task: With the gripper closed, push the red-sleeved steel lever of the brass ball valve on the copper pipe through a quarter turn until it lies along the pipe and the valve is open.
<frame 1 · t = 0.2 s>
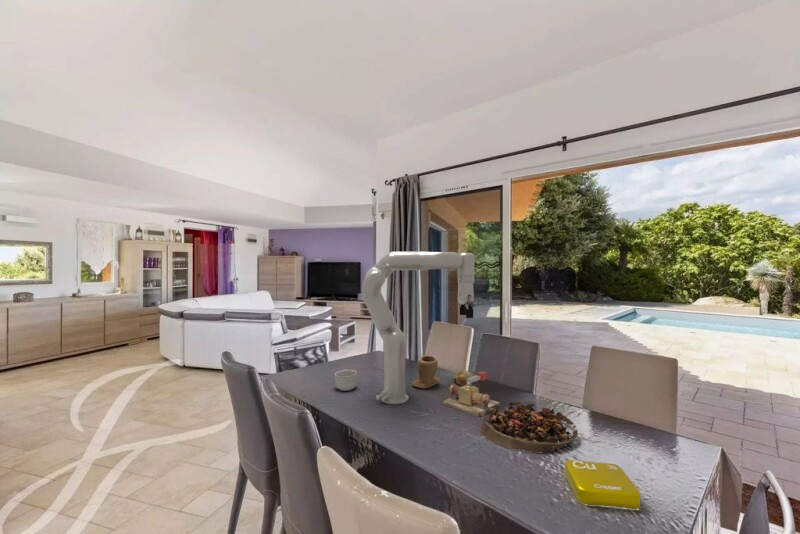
hand: (466, 316, 172), 37 cm above the table, tool pointing down, fingers open, 9 cm apart
beige board: (471, 405, 161), on the table
element tile: (599, 492, 100), on the table
valve pipe: (468, 406, 159), resting on beige board
stone cup: (427, 386, 186), on the table
bread roll: (463, 383, 191), on the table
valve lever: (476, 378, 163), point 11 cm above the table, hinge at 0.0°
food dish: (526, 432, 137), on the table
teacup: (346, 388, 183), on the table
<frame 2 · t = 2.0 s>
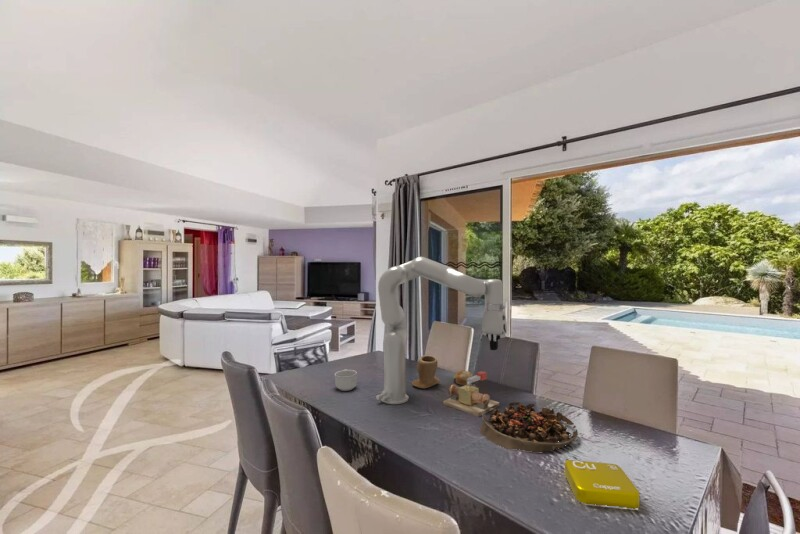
hand: (493, 349, 162), 24 cm above the table, tool pointing down, fingers closed
nothing on the table moved.
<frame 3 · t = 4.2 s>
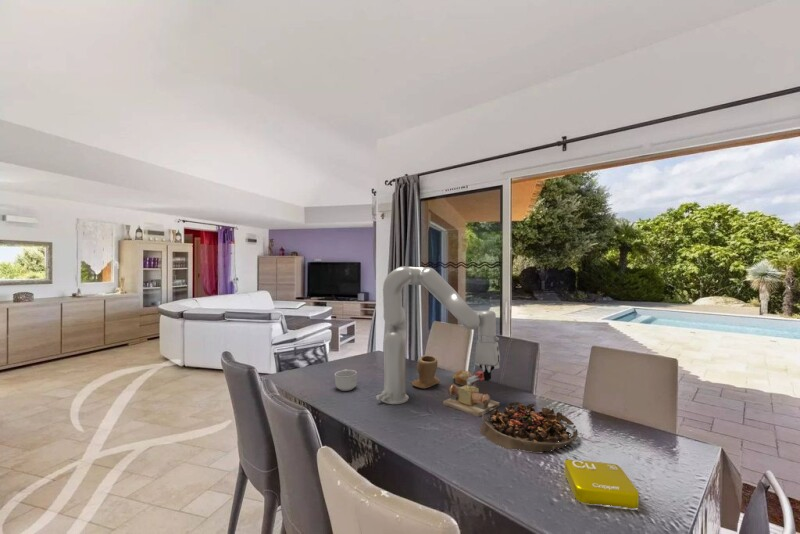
hand: (487, 380, 164), 10 cm above the table, tool pointing down, fingers closed
valve lever: (475, 378, 163), point 11 cm above the table, hinge at 3.9°, touching gripper
everything else where it was.
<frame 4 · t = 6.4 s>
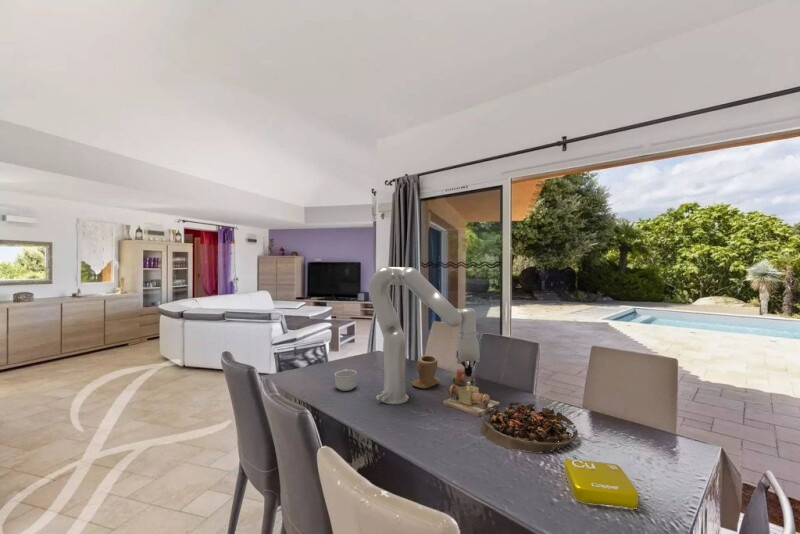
hand: (468, 375, 169), 10 cm above the table, tool pointing down, fingers closed
valve lever: (464, 377, 165), point 11 cm above the table, hinge at 54.2°, touching gripper
everything else where it was.
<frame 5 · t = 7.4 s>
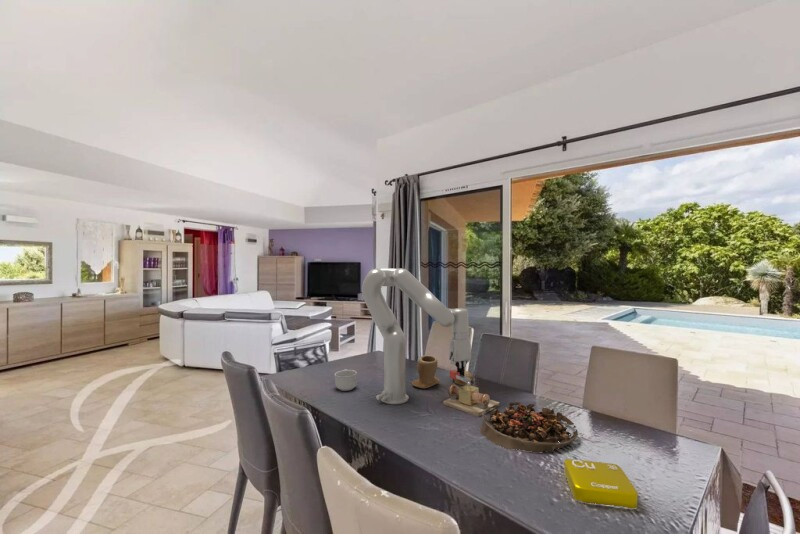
hand: (460, 375, 169), 10 cm above the table, tool pointing down, fingers closed
valve lever: (460, 377, 164), point 11 cm above the table, hinge at 73.3°, touching gripper
everything else where it was.
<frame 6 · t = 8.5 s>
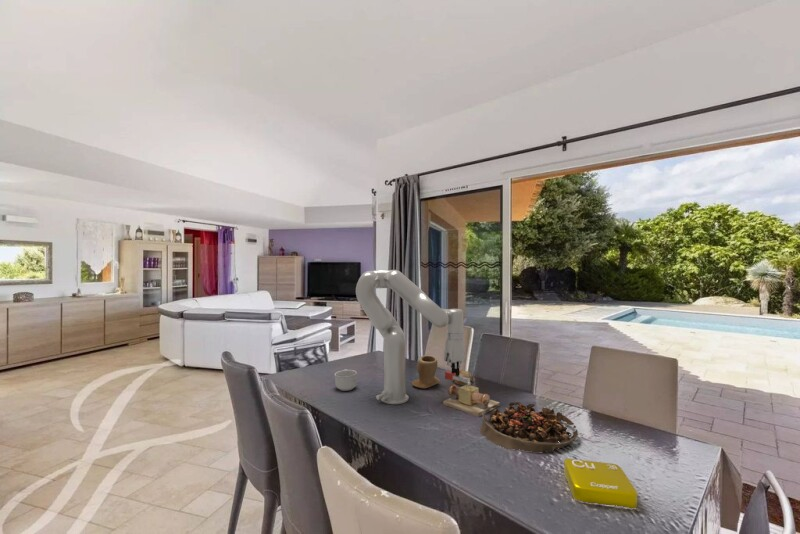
hand: (455, 376, 168), 10 cm above the table, tool pointing down, fingers closed
valve lever: (458, 378, 163), point 11 cm above the table, hinge at 88.8°, touching gripper
everything else where it was.
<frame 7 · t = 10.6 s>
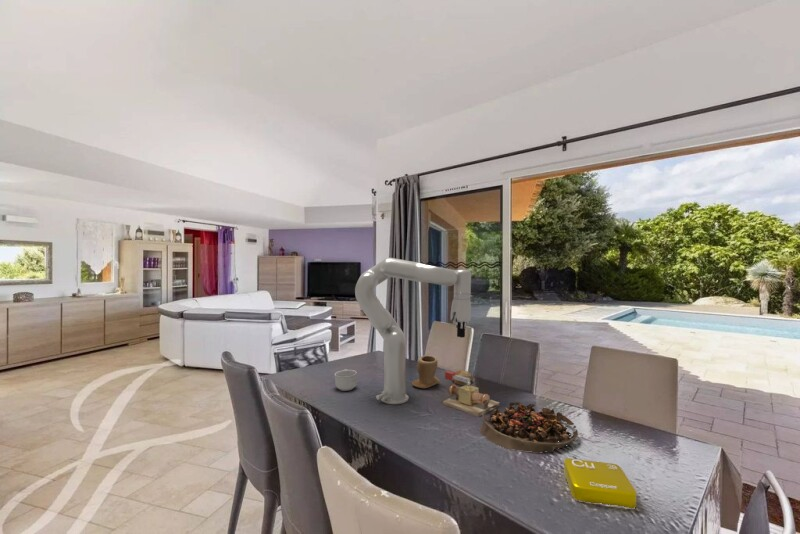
hand: (460, 336, 169), 28 cm above the table, tool pointing down, fingers closed
valve lever: (458, 378, 163), point 11 cm above the table, hinge at 88.8°
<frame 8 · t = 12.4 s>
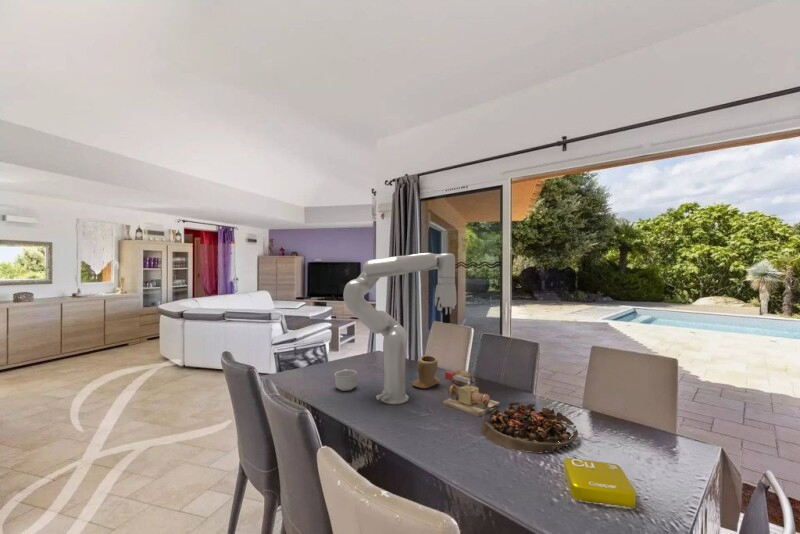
hand: (446, 322, 164), 35 cm above the table, tool pointing down, fingers closed
at the end: valve lever at +89° (first picture: +0°) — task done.
